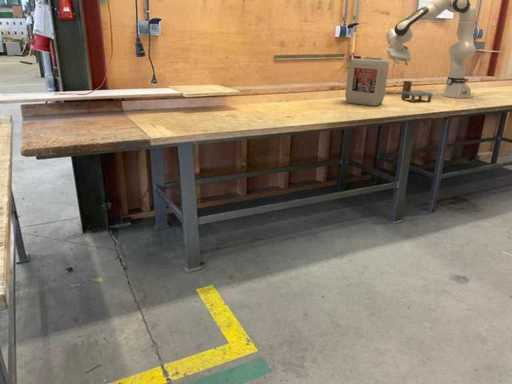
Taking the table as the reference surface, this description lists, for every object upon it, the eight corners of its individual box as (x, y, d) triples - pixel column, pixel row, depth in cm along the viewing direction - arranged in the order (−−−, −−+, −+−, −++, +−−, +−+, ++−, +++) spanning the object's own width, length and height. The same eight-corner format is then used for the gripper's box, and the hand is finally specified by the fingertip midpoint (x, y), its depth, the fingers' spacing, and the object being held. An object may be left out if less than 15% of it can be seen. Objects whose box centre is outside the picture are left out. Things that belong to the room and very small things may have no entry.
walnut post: (405, 97, 310) (408, 80, 305) (409, 98, 306) (412, 81, 302) (401, 97, 309) (403, 80, 304) (404, 98, 305) (407, 81, 301)
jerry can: (342, 103, 279) (347, 56, 267) (350, 99, 294) (355, 54, 283) (378, 107, 269) (385, 58, 257) (384, 103, 284) (391, 57, 273)
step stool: (420, 99, 304) (421, 90, 302) (431, 102, 294) (432, 93, 291) (401, 99, 299) (402, 91, 297) (412, 102, 289) (413, 93, 287)
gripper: (389, 44, 304) (395, 60, 300) (409, 47, 314) (415, 63, 310) (383, 49, 310) (389, 65, 305) (403, 53, 319) (408, 68, 315)
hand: (402, 64), depth 308 cm, fingers open, 8 cm apart
